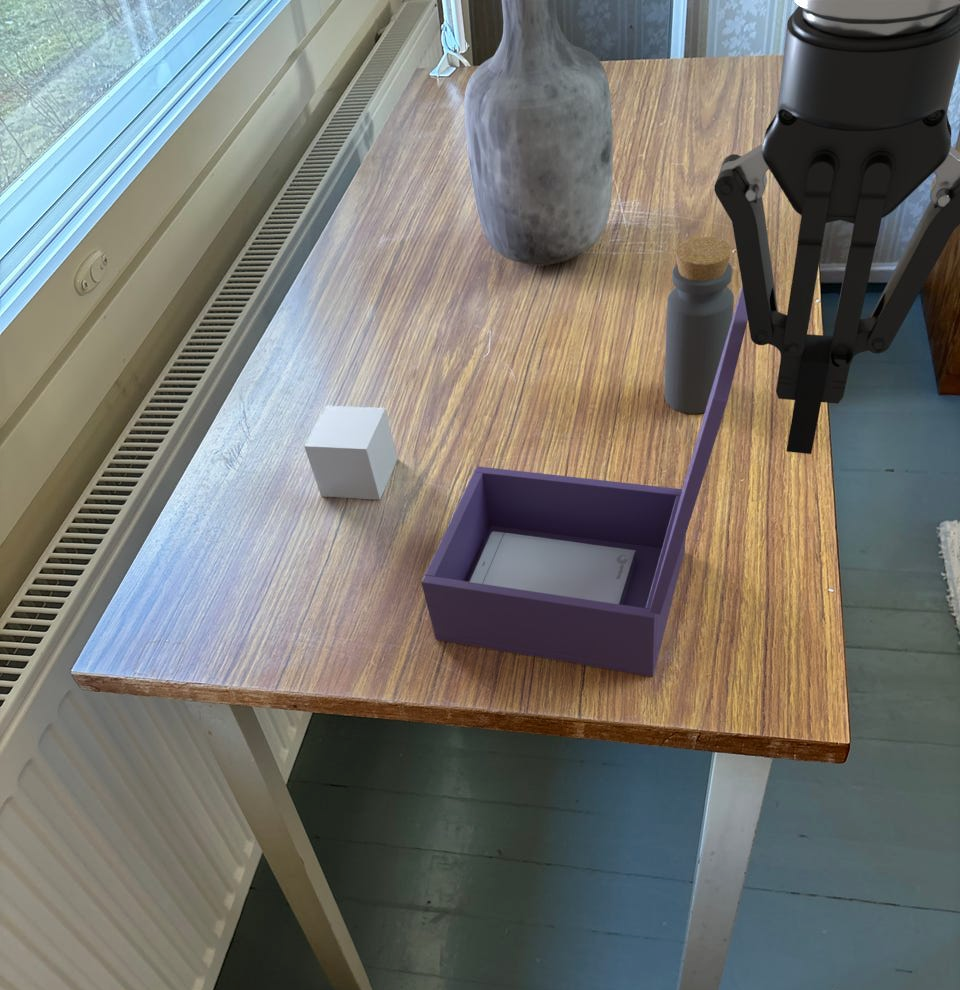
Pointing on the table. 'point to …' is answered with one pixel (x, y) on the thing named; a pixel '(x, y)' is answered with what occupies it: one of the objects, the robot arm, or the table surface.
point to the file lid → (702, 451)
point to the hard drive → (556, 567)
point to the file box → (546, 617)
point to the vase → (539, 140)
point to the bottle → (697, 322)
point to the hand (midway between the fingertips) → (801, 438)
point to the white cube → (352, 452)
